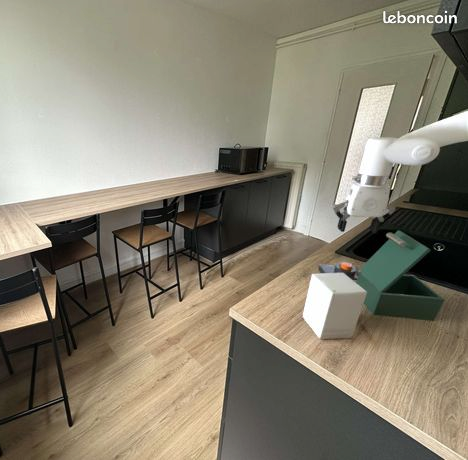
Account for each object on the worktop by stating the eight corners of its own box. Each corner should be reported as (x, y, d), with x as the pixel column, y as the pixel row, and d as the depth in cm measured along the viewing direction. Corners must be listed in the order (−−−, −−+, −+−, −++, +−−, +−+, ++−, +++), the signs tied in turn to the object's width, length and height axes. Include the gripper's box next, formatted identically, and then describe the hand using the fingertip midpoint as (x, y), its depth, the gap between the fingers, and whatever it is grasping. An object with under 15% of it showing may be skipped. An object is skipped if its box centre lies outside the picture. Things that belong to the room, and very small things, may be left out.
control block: (347, 271, 94) (350, 262, 93) (358, 284, 87) (361, 274, 86) (318, 269, 96) (320, 260, 95) (326, 281, 89) (328, 272, 88)
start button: (348, 266, 91) (349, 262, 90) (352, 271, 88) (354, 267, 88) (338, 265, 92) (339, 261, 91) (342, 270, 89) (343, 266, 88)
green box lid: (400, 231, 72) (386, 224, 72) (431, 250, 62) (414, 241, 62) (361, 270, 79) (348, 264, 79) (382, 293, 68) (367, 286, 69)
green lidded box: (404, 298, 80) (414, 275, 76) (432, 325, 69) (445, 299, 66) (352, 293, 83) (359, 271, 79) (371, 319, 72) (380, 294, 69)
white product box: (353, 338, 66) (369, 292, 60) (319, 340, 66) (332, 293, 60) (331, 314, 74) (343, 271, 68) (301, 315, 74) (311, 273, 68)
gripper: (345, 182, 76) (332, 234, 82) (413, 183, 72) (393, 237, 79) (335, 177, 82) (323, 225, 89) (396, 177, 79) (379, 227, 86)
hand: (356, 230), depth 84 cm, fingers open, 9 cm apart
